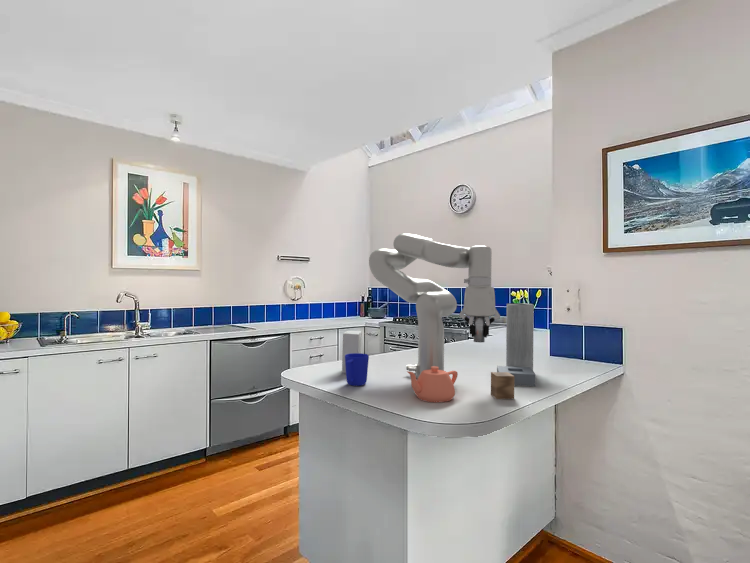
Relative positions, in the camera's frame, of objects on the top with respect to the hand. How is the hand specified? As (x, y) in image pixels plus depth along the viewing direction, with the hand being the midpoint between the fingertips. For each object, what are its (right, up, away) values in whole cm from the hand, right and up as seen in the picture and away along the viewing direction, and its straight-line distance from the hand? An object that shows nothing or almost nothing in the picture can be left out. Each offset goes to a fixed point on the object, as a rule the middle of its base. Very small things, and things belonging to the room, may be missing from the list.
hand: (479, 336), depth 140 cm
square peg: (+4, -17, -12) cm, 21 cm away
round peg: (0, -2, 0) cm, 2 cm away
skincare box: (-44, -17, +22) cm, 52 cm away
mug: (-42, -17, 0) cm, 46 cm away
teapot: (-18, -17, -14) cm, 28 cm away
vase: (+22, -17, +22) cm, 36 cm away
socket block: (+15, -17, +9) cm, 24 cm away
